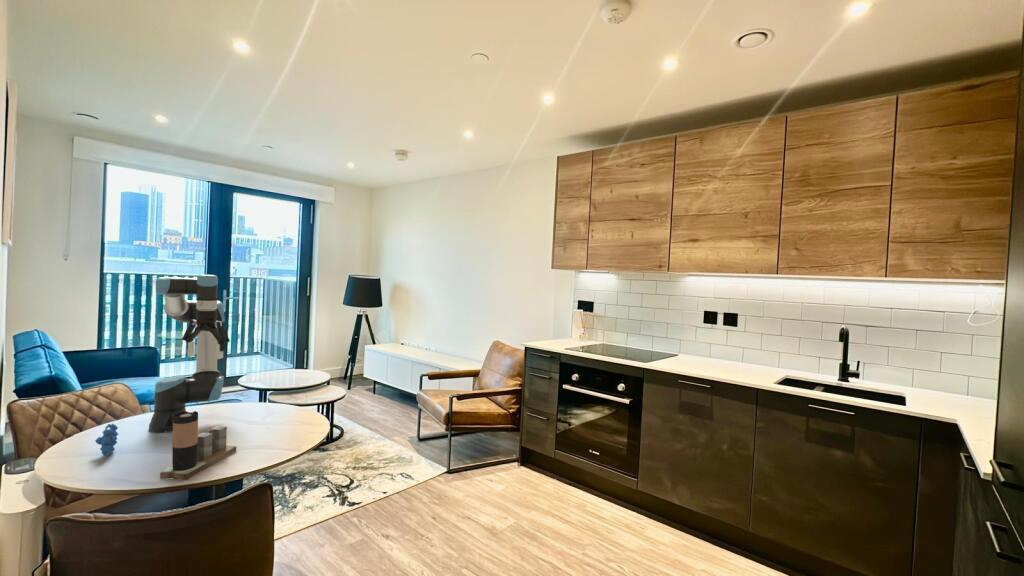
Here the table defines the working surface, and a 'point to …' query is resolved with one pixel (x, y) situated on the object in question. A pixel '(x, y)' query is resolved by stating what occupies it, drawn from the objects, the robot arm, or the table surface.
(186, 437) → the travel mug
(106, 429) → the grapes
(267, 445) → the table surface
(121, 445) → the table surface
